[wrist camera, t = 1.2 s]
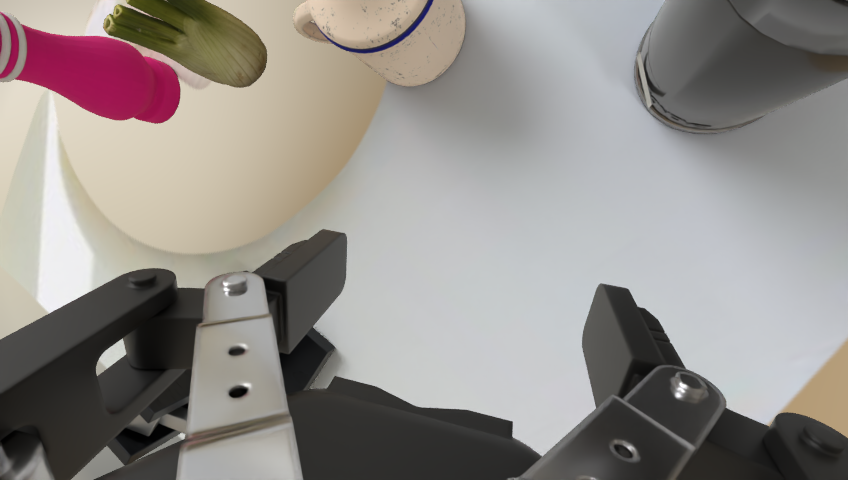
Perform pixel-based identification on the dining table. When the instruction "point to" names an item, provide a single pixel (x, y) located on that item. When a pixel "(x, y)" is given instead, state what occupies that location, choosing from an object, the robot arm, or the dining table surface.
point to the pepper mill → (90, 72)
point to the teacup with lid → (389, 34)
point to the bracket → (133, 445)
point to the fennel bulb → (193, 38)
